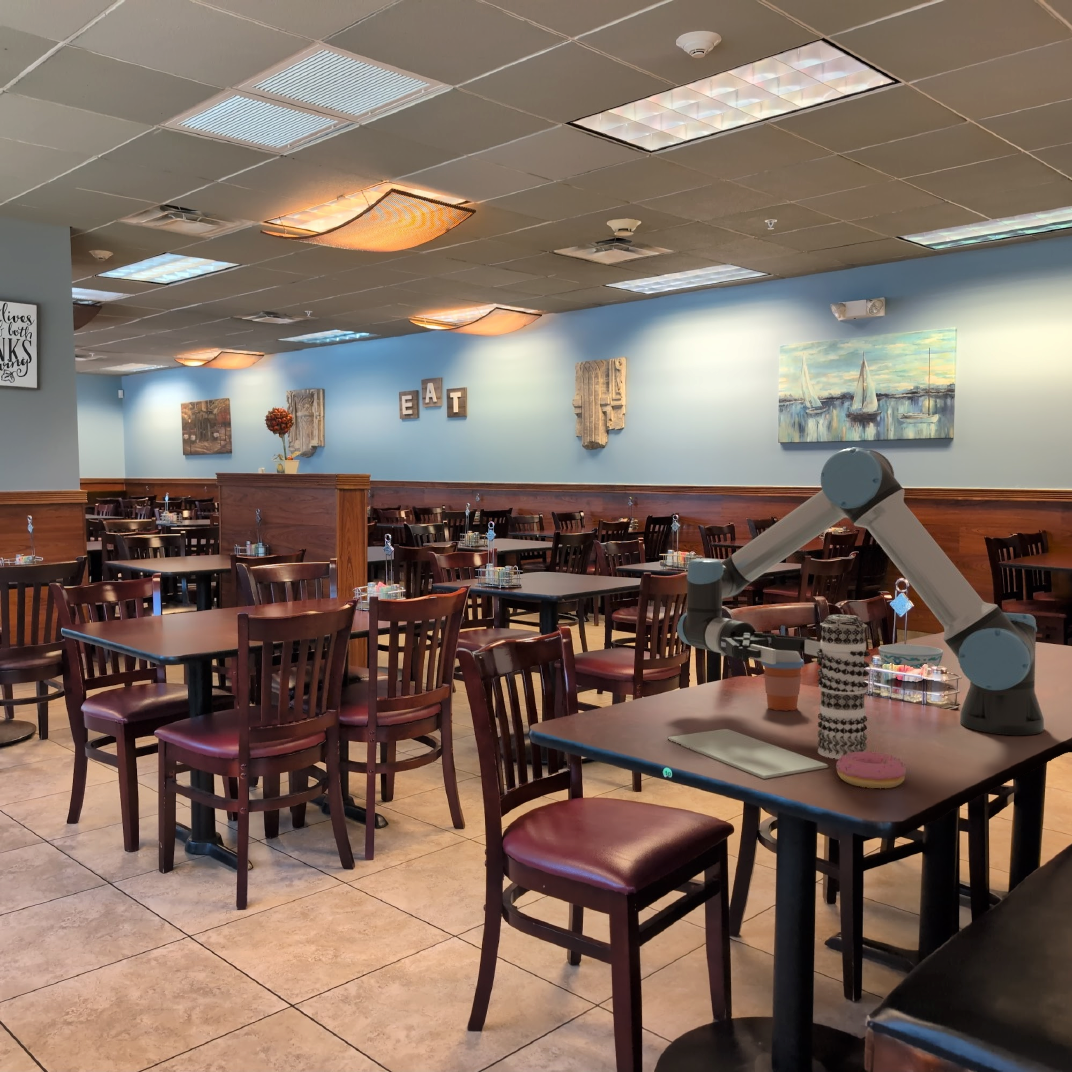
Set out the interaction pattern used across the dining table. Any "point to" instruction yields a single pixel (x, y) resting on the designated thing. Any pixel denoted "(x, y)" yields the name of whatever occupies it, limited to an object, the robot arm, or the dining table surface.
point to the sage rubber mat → (748, 753)
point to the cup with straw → (783, 679)
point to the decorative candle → (842, 686)
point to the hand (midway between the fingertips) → (802, 654)
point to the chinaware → (910, 655)
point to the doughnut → (871, 770)
